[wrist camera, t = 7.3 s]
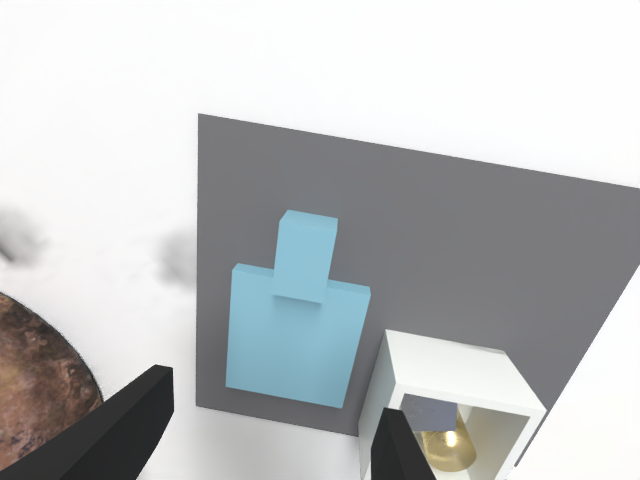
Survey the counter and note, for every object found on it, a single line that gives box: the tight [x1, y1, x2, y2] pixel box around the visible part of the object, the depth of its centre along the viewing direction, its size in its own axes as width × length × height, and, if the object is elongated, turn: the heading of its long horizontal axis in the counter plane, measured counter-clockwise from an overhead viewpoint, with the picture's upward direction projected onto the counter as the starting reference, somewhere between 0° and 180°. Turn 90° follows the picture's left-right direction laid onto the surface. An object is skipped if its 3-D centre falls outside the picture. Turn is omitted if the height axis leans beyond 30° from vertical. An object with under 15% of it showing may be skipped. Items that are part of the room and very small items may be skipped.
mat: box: [196, 113, 640, 467], centre depth 20 cm, size 22×26×1 cm
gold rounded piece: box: [420, 407, 476, 472], centre depth 20 cm, size 3×3×3 cm
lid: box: [226, 210, 371, 408], centre depth 19 cm, size 14×9×2 cm, turn 171°
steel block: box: [399, 393, 458, 431], centre depth 19 cm, size 3×3×3 cm
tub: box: [358, 329, 547, 480], centre depth 19 cm, size 9×8×4 cm
